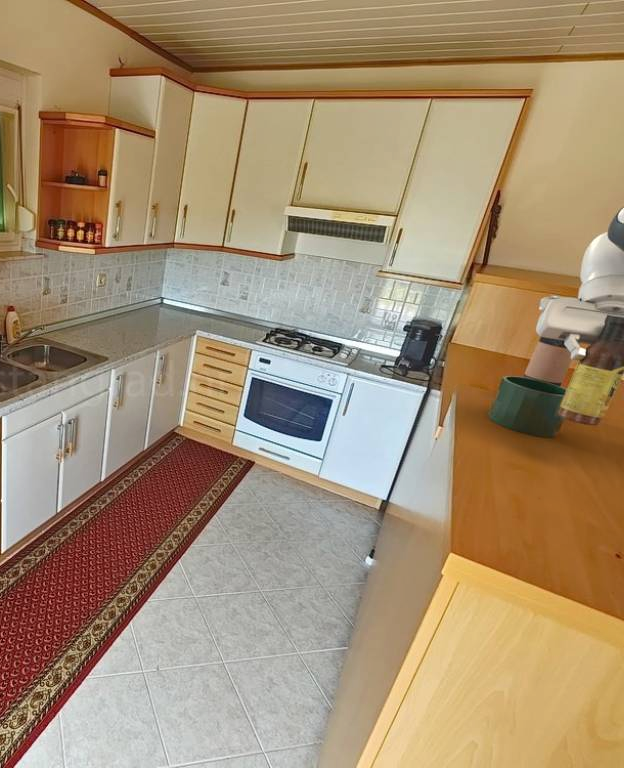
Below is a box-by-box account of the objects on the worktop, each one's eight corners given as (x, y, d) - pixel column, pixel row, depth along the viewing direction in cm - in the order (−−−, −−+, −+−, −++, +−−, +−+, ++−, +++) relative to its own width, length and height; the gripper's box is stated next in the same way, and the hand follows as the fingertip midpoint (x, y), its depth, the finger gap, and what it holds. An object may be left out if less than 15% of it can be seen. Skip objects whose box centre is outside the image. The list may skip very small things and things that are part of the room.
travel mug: (553, 416, 124) (588, 341, 117) (518, 409, 127) (550, 335, 120) (540, 407, 131) (572, 335, 124) (507, 400, 133) (537, 329, 126)
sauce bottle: (604, 430, 88) (656, 322, 81) (559, 420, 91) (607, 315, 84) (593, 419, 93) (642, 317, 86) (552, 410, 96) (596, 310, 89)
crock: (548, 424, 119) (566, 385, 115) (564, 443, 108) (584, 401, 104) (483, 408, 124) (498, 372, 121) (492, 425, 113) (509, 385, 110)
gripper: (548, 283, 94) (541, 341, 89) (694, 302, 85) (695, 367, 81) (533, 303, 99) (526, 359, 95) (670, 323, 91) (669, 385, 86)
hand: (605, 363), depth 87 cm, fingers closed on sauce bottle, 6 cm apart
